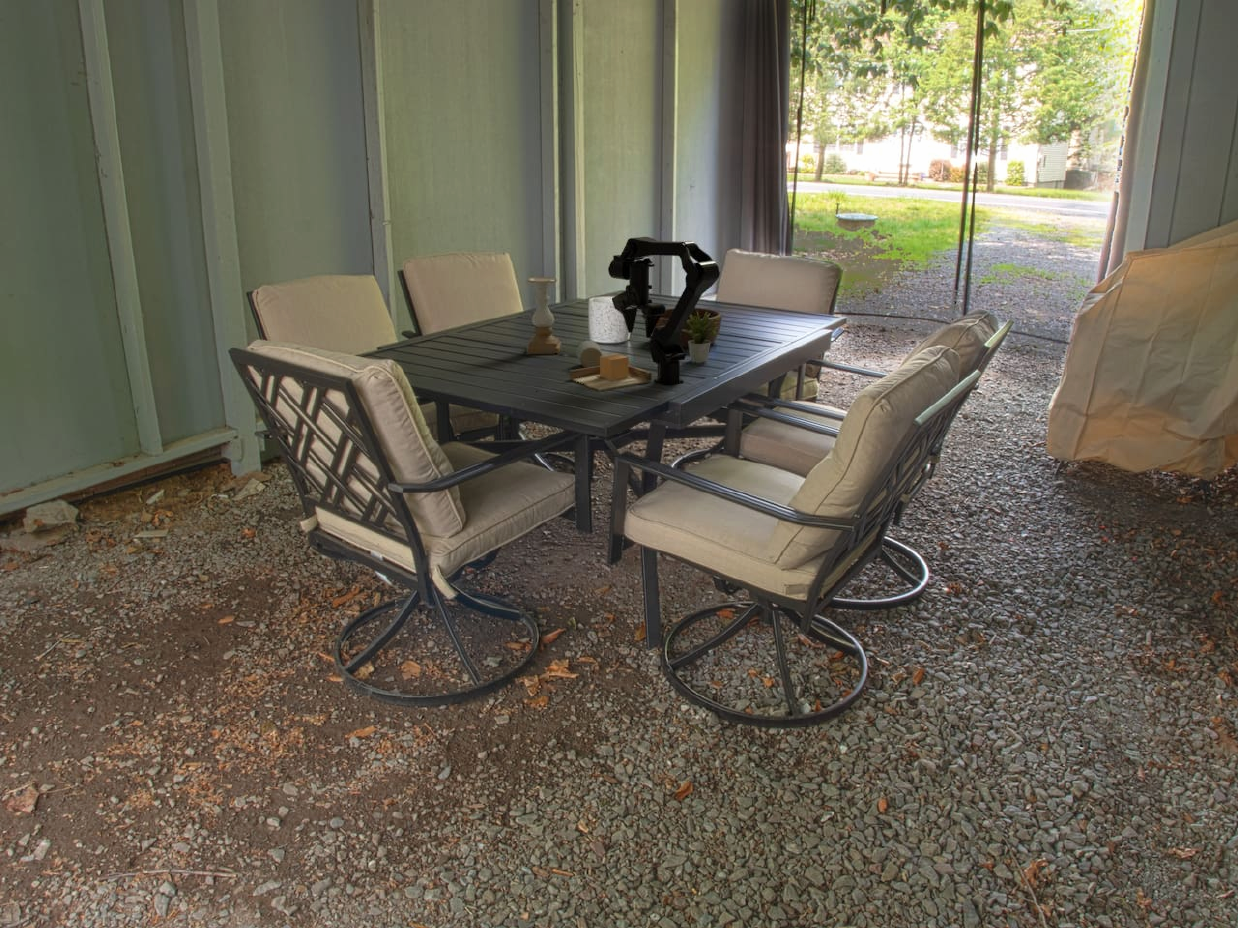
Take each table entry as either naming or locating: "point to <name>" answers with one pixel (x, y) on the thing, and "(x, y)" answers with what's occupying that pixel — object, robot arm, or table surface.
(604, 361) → the cube
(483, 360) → the table surface
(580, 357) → the ceramic mug
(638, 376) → the arena
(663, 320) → the wooden bowl
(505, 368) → the table surface
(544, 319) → the candle holder
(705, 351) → the house plant
